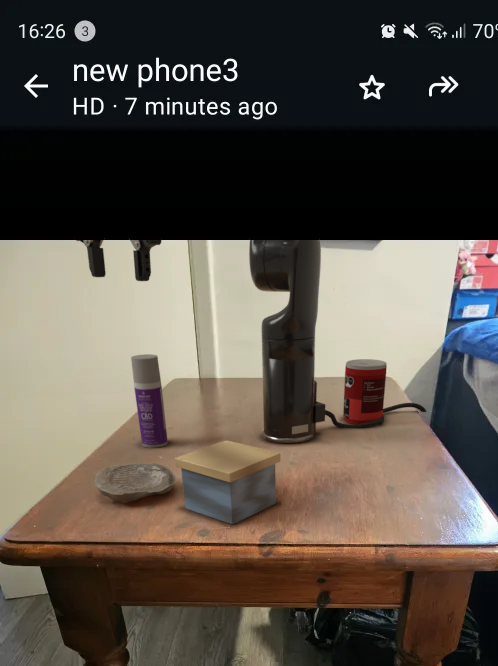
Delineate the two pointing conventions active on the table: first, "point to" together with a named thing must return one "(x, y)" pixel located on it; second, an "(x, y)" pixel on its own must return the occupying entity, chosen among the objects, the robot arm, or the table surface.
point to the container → (149, 400)
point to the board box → (228, 480)
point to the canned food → (364, 390)
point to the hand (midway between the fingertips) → (120, 278)
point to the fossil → (134, 481)
